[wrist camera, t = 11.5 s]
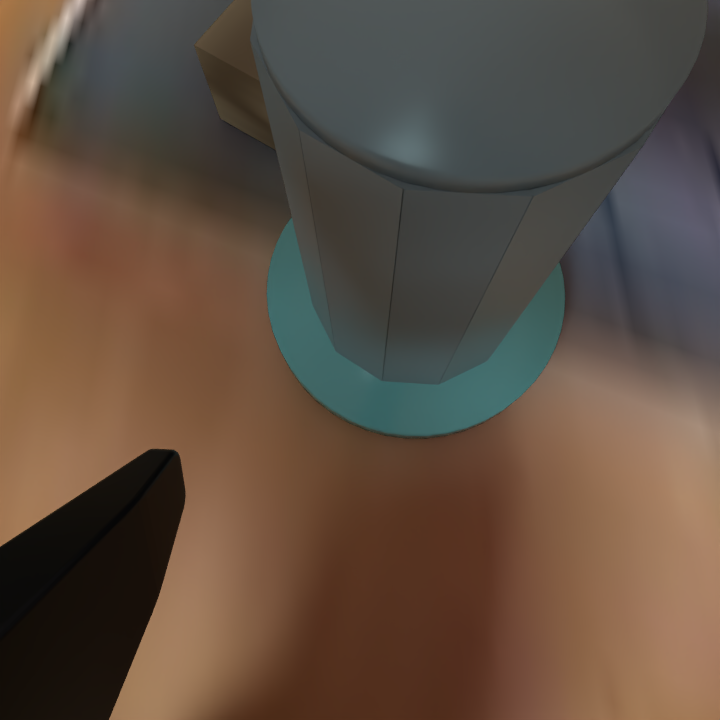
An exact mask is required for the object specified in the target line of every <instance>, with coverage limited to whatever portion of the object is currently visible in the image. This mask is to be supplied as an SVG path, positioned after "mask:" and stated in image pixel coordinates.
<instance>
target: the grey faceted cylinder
mask: <svg viewBox="0 0 720 720" xmlns="http://www.w3.org/2000/svg"><path fill="white" fill-rule="evenodd" d="M251 8H252V16H253V23H252V30H251V36H250V42H251V46H252V50H253V55H254V59H255V63H256V67H257V72H258V76H259V80H260V84H261V88H262V93H263V97H264V101H265V105H266V110H267V114H268V118H269V122H270V127H271V131H272V135H273V139H274V144H275V148H276V152H277V156H278V161H279V165H280V169H281V173H282V178H283V182H284V186H285V190H286V195H287V199H288V203H289V207H290V212H291V216H292V220H293V224H294V229H295V233H296V237H297V241H298V245H299V250H300V254H301V258H302V262H303V267H304V271H305V275H306V279H307V284H308V288H309V292H310V296H311V301H312V305H313V307H314V309H315V311H316V313H317V315H318V317H319V319H320V321H321V323H322V325H323V327H324V329H325V331H326V333H327V335H328V337H329V339H330V341H331V343H332V345H333V347H334V349H335V351H336V352H337V353H339V354H340V355H342V356H344V357H345V358H347V359H348V360H350V361H351V362H353V363H354V364H356V365H358V366H359V367H361V368H362V369H364V370H365V371H367V372H368V373H370V374H372V375H373V376H375V377H376V378H378V379H379V380H381V381H385V382H401V383H417V384H433V385H438V384H441V383H443V382H445V381H447V380H449V379H451V378H453V377H455V376H458V375H460V374H462V373H464V372H466V371H468V370H470V369H472V368H474V367H476V366H478V365H480V364H482V363H484V362H486V361H488V359H489V358H490V357H491V355H492V354H493V353H494V351H495V350H496V348H497V347H498V346H499V344H500V343H501V342H502V340H503V339H504V337H505V336H506V335H507V333H508V332H509V330H510V329H511V328H512V326H513V325H514V324H515V322H516V321H517V319H518V318H519V317H520V315H521V314H522V312H523V311H524V310H525V308H526V307H527V306H528V304H529V303H530V301H531V300H532V299H533V297H534V296H535V295H536V293H537V292H538V290H539V289H540V288H541V286H542V285H543V283H544V282H545V281H546V279H547V278H548V277H549V275H550V274H551V272H552V271H553V270H554V268H555V267H556V265H557V264H558V263H559V261H560V260H561V259H562V257H563V256H564V254H565V253H566V252H567V250H568V249H569V247H570V246H571V245H572V243H573V242H574V241H575V239H576V238H577V236H578V235H579V234H580V232H581V231H582V230H583V228H584V227H585V225H586V224H587V223H588V221H589V220H590V218H591V217H592V216H593V214H594V213H595V212H596V210H597V209H598V207H599V206H600V205H601V203H602V202H603V200H604V199H605V198H606V196H607V195H608V194H609V192H610V191H611V189H612V188H613V187H614V185H615V184H616V183H617V181H618V180H619V178H620V177H621V176H622V174H623V173H624V171H625V170H626V169H627V167H628V166H629V165H630V163H631V162H632V160H633V159H634V158H635V156H636V155H637V153H638V152H639V151H640V149H641V148H642V147H643V145H644V143H645V142H646V140H647V139H648V137H649V135H650V134H651V132H652V131H653V129H654V127H655V126H656V124H657V123H658V121H659V119H660V118H661V116H662V115H663V113H664V111H665V110H666V108H667V107H668V105H669V103H670V102H671V100H672V99H673V98H674V96H675V95H676V93H677V92H678V91H679V89H680V88H681V86H682V85H683V84H684V82H685V81H686V79H687V77H688V75H689V73H690V71H691V69H692V68H693V66H694V64H695V62H696V60H697V58H698V55H699V52H700V48H701V45H702V42H703V39H704V36H705V30H706V22H707V14H708V0H251Z"/></svg>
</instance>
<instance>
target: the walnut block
mask: <svg viewBox="0 0 720 720" xmlns="http://www.w3.org/2000/svg"><path fill="white" fill-rule="evenodd" d="M252 23H253V16H252V8H251V0H234V1H233V2H232V3H231V4H230V5H229V7H228V8H227V9H226V10H225V11H224V12H223V13H222V14H221V15H220V17H219V18H218V19H217V20H216V21H215V22H214V23H213V24H212V25H211V27H210V28H209V29H208V30H207V31H206V32H205V33H204V34H203V35H202V37H201V38H200V39H199V40H198V41H197V42H196V43H195V44H194V46H195V49H196V52H197V55H198V57H199V60H200V63H201V66H202V69H203V71H204V74H205V77H206V80H207V83H208V85H209V88H210V91H211V94H212V97H213V99H214V102H215V105H216V108H217V111H218V113H219V116H220V119H222V120H224V121H225V122H227V123H229V124H231V125H232V126H234V127H236V128H238V129H239V130H241V131H243V132H245V133H246V134H248V135H250V136H252V137H253V138H255V139H257V140H259V141H260V142H262V143H264V144H266V145H267V146H269V147H271V148H273V149H274V150H276V148H275V144H274V139H273V135H272V131H271V127H270V122H269V118H268V114H267V110H266V105H265V101H264V97H263V93H262V88H261V84H260V80H259V76H258V72H257V67H256V63H255V59H254V55H253V50H252V46H251V42H250V36H251V30H252Z"/></svg>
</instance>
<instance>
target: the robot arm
mask: <svg viewBox="0 0 720 720" xmlns="http://www.w3.org/2000/svg"><path fill="white" fill-rule="evenodd" d="M185 496H186V495H185V485H184V479H183V473H182V466H181V460H180V456H179V454H178V452H176V451H175V450H169V449H150V450H148V451H146V452H145V453H143V454H142V455H140V456H138V457H137V458H135V459H134V460H132V461H131V462H129V463H128V464H126V465H125V466H123V467H122V468H120V469H119V470H117V471H115V472H114V473H112V474H111V475H109V476H108V477H106V478H105V479H103V480H102V481H100V482H99V483H97V484H96V485H94V486H92V487H91V488H89V489H88V490H86V491H85V492H83V493H82V494H80V495H79V496H77V497H76V498H74V499H73V500H71V501H70V502H68V503H66V504H65V505H63V506H62V507H60V508H59V509H57V510H56V511H54V512H53V513H51V514H50V515H48V516H47V517H45V518H43V519H42V520H40V521H39V522H37V523H36V524H34V525H33V526H31V527H30V528H28V529H27V530H25V531H24V532H22V533H20V534H19V535H17V536H16V537H14V538H13V539H11V540H10V541H8V542H7V543H5V544H4V545H2V546H1V547H0V720H109V718H110V716H111V713H112V711H113V708H114V706H115V703H116V701H117V698H118V696H119V694H120V691H121V689H122V686H123V684H124V681H125V679H126V676H127V674H128V671H129V669H130V667H131V664H132V662H133V659H134V657H135V654H136V652H137V649H138V647H139V644H140V642H141V640H142V637H143V635H144V632H145V630H146V627H147V625H148V622H149V620H150V617H151V615H152V613H153V610H154V607H155V605H156V602H157V599H158V597H159V593H160V590H161V587H162V584H163V580H164V577H165V573H166V569H167V566H168V562H169V559H170V555H171V552H172V548H173V545H174V541H175V537H176V534H177V530H178V527H179V523H180V520H181V516H182V512H183V509H184V505H185Z"/></svg>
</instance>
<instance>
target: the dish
mask: <svg viewBox="0 0 720 720" xmlns="http://www.w3.org/2000/svg"><path fill="white" fill-rule="evenodd" d="M267 303H268V313H269V317H270V322H271V326H272V330H273V333H274V336H275V338H276V341H277V343H278V346H279V348H280V351H281V353H282V355H283V357H284V359H285V361H286V362H287V364H288V366H289V368H290V370H291V371H292V373H293V375H294V376H295V377H296V379H297V380H298V381H299V382H300V384H301V385H302V386H303V388H304V389H305V390H306V391H307V392H308V393H309V394H310V395H311V396H312V397H313V398H314V399H315V400H316V401H317V402H318V403H319V404H321V405H322V406H323V407H325V408H326V409H327V410H329V411H330V412H331V413H332V414H334V415H336V416H338V417H339V418H341V419H343V420H345V421H346V422H348V423H350V424H352V425H355V426H357V427H360V428H362V429H364V430H367V431H370V432H374V433H378V434H382V435H385V436H391V437H399V438H420V439H426V438H434V437H442V436H447V435H451V434H455V433H459V432H462V431H465V430H468V429H470V428H473V427H475V426H478V425H480V424H482V423H484V422H486V421H487V420H489V419H491V418H493V417H494V416H496V415H498V414H499V413H500V412H502V411H503V410H504V409H506V408H507V407H508V406H509V405H511V404H512V403H513V402H514V401H515V400H517V399H518V398H519V397H520V396H521V395H522V394H523V393H524V392H525V391H526V390H527V389H528V388H529V387H530V386H531V385H532V384H533V383H534V382H535V381H536V379H537V378H538V376H539V375H540V374H541V372H542V371H543V369H544V368H545V367H546V365H547V363H548V361H549V359H550V357H551V355H552V353H553V351H554V350H555V347H556V344H557V341H558V338H559V335H560V332H561V328H562V323H563V318H564V309H565V289H564V279H563V274H562V270H561V266H560V262H559V263H558V264H557V265H556V267H555V268H554V270H553V271H552V272H551V274H550V275H549V277H548V278H547V279H546V281H545V282H544V283H543V285H542V286H541V288H540V289H539V290H538V292H537V293H536V295H535V296H534V297H533V299H532V300H531V301H530V303H529V304H528V306H527V307H526V308H525V310H524V311H523V312H522V314H521V315H520V317H519V318H518V319H517V321H516V322H515V324H514V325H513V326H512V328H511V329H510V330H509V332H508V333H507V335H506V336H505V337H504V339H503V340H502V342H501V343H500V344H499V346H498V347H497V348H496V350H495V351H494V353H493V354H492V355H491V357H490V358H489V359H488V361H486V362H484V363H482V364H480V365H478V366H476V367H474V368H472V369H470V370H468V371H466V372H464V373H462V374H460V375H458V376H455V377H453V378H451V379H449V380H447V381H445V382H443V383H441V384H438V385H433V384H417V383H401V382H385V381H381V380H379V379H378V378H376V377H375V376H373V375H372V374H370V373H368V372H367V371H365V370H364V369H362V368H361V367H359V366H358V365H356V364H354V363H353V362H351V361H350V360H348V359H347V358H345V357H344V356H342V355H340V354H339V353H337V352H336V351H335V349H334V347H333V345H332V343H331V341H330V339H329V337H328V335H327V333H326V331H325V329H324V327H323V325H322V323H321V321H320V319H319V317H318V315H317V313H316V311H315V309H314V307H313V305H312V301H311V296H310V292H309V288H308V284H307V279H306V275H305V271H304V267H303V262H302V258H301V254H300V250H299V245H298V241H297V237H296V233H295V229H294V224H293V220H292V217H291V219H290V220H289V222H288V223H287V225H286V226H285V228H284V230H283V232H282V234H281V236H280V237H279V239H278V241H277V244H276V247H275V250H274V252H273V255H272V258H271V263H270V268H269V273H268V281H267Z"/></svg>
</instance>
